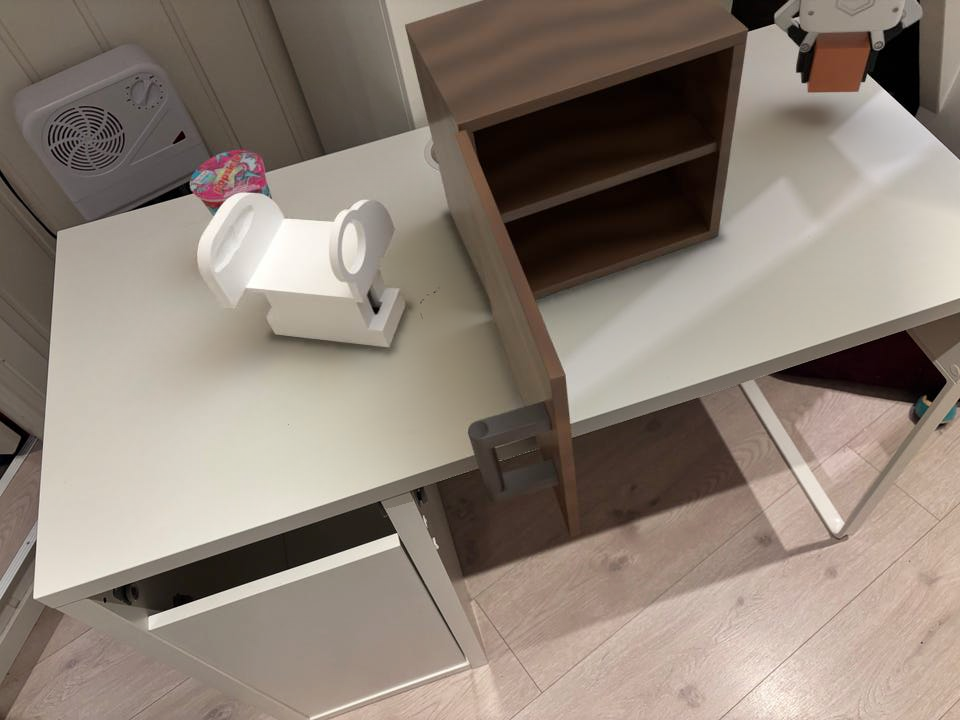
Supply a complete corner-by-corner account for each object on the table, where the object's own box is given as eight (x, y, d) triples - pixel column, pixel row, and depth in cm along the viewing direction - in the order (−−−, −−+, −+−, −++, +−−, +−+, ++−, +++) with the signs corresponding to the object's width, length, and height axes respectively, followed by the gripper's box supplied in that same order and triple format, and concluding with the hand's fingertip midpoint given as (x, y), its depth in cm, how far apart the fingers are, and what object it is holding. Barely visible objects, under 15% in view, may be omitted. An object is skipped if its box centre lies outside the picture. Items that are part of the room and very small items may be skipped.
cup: (226, 277, 91) (180, 202, 81) (242, 229, 96) (200, 153, 86) (299, 271, 89) (261, 194, 80) (311, 222, 94) (276, 145, 85)
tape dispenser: (413, 287, 85) (372, 161, 71) (378, 379, 78) (324, 259, 64) (303, 277, 89) (242, 155, 74) (259, 364, 81) (183, 247, 67)
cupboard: (718, 235, 83) (748, 28, 63) (495, 313, 81) (457, 124, 61) (647, 145, 94) (654, -55, 74) (449, 211, 92) (404, 24, 72)
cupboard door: (506, 558, 64) (458, 406, 45) (441, 333, 80) (386, 151, 61) (581, 535, 64) (565, 375, 45) (502, 316, 80) (465, 129, 61)
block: (854, 65, 89) (866, 21, 85) (858, 92, 86) (870, 47, 82) (805, 66, 91) (814, 23, 86) (807, 92, 87) (816, 49, 83)
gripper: (780, -65, 74) (755, 96, 88) (975, -77, 70) (916, 93, 84) (778, -98, 78) (755, 60, 92) (961, -111, 74) (908, 56, 88)
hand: (832, 74), depth 88 cm, fingers closed on block, 5 cm apart
